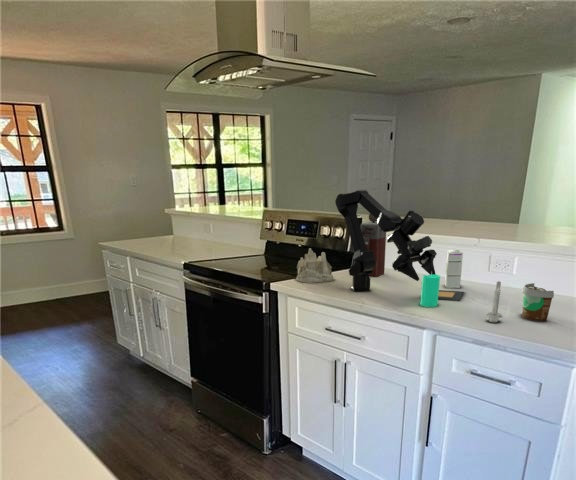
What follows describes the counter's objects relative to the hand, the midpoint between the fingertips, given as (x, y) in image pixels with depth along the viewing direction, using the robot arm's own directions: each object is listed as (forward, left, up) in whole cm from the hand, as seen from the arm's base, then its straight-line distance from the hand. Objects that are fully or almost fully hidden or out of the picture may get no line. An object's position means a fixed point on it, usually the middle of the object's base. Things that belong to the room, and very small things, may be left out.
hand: (426, 278), depth 181 cm
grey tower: (+20, +25, -10) cm, 34 cm away
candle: (+1, -2, -10) cm, 10 cm away
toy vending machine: (-7, +56, -10) cm, 58 cm away
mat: (+11, +11, -9) cm, 18 cm away
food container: (+27, -24, -10) cm, 37 cm away
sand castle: (-34, +52, -10) cm, 63 cm away
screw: (+14, -26, -10) cm, 31 cm away
